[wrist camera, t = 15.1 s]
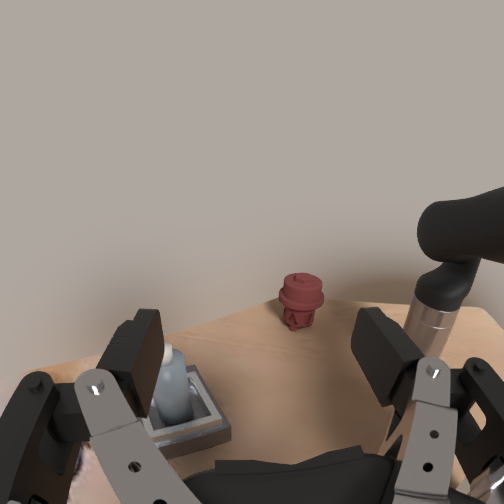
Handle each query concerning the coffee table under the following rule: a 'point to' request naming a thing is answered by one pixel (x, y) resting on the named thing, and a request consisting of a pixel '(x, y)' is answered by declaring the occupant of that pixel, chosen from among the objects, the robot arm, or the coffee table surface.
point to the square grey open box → (189, 423)
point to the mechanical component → (300, 299)
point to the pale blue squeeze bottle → (173, 388)
